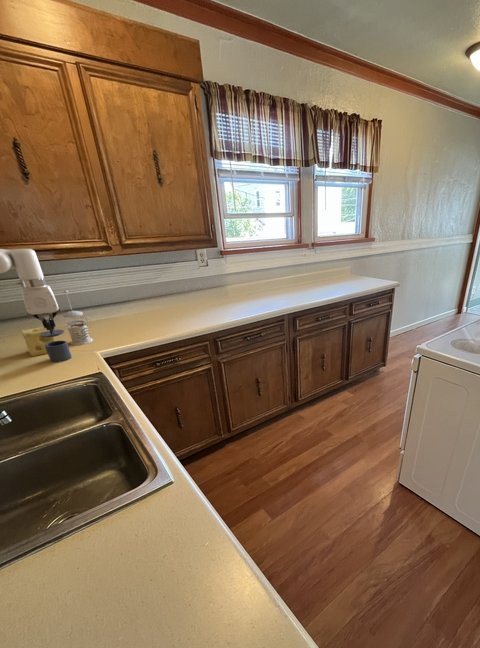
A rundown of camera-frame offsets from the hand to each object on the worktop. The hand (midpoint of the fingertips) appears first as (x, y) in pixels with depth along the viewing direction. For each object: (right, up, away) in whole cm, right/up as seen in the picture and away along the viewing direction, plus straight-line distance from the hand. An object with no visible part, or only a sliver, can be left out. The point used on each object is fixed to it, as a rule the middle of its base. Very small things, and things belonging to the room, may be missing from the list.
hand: (50, 328), depth 134 cm
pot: (0, -12, +6) cm, 14 cm away
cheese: (-15, -8, +16) cm, 23 cm away
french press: (-5, -2, +28) cm, 28 cm away
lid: (0, -2, +1) cm, 2 cm away
